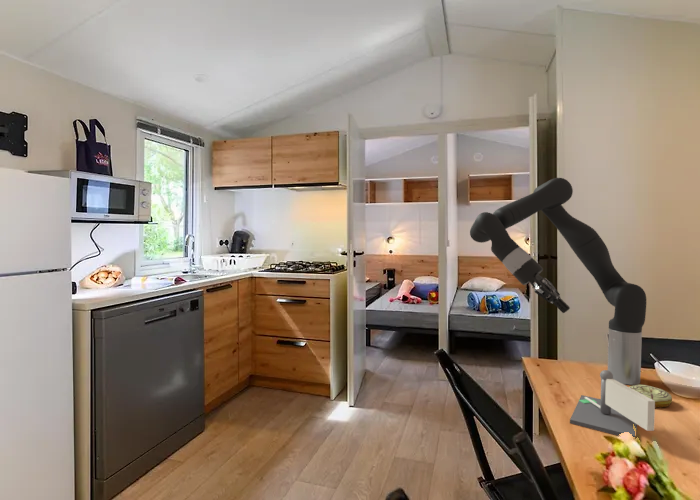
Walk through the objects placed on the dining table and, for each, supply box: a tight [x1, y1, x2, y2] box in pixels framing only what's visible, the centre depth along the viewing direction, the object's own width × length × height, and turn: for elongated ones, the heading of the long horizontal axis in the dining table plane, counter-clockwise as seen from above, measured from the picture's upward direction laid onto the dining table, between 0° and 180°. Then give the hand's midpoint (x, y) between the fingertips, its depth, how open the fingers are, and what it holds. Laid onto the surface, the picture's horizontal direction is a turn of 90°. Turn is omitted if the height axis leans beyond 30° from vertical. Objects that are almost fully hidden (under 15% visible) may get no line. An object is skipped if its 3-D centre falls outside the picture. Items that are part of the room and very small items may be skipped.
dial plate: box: [569, 394, 638, 437], centre depth 107 cm, size 20×14×1 cm
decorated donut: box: [628, 384, 673, 409], centre depth 117 cm, size 10×11×4 cm
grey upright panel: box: [584, 369, 656, 432], centre depth 104 cm, size 24×3×12 cm, turn 1°
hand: (566, 310), depth 112 cm, fingers closed
